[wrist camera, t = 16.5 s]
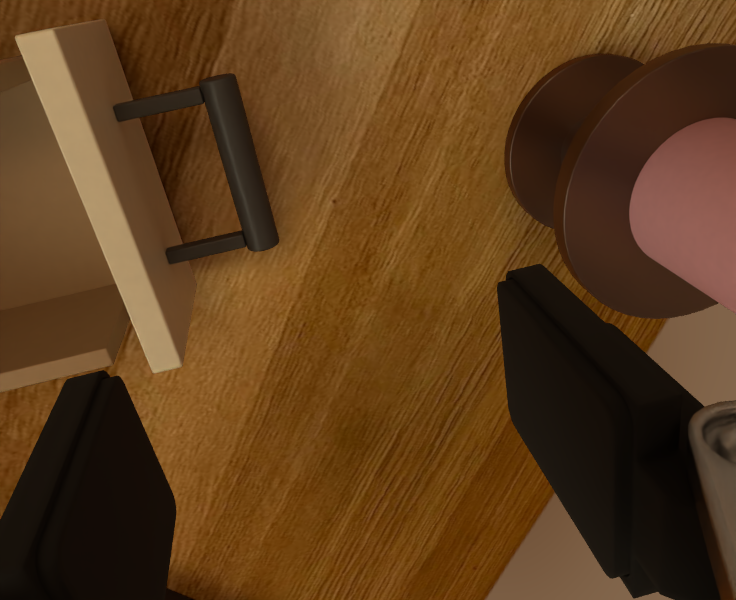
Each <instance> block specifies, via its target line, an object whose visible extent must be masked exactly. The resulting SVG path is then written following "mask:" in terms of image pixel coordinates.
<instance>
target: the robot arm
mask: <svg viewBox="0 0 736 600" xmlns="http://www.w3.org/2000/svg"><path fill="white" fill-rule="evenodd" d="M497 294H498V304H499V315H500V325H501V336H502V346H503V357H504V367H505V378H506V388H507V399H508V408H509V412H510V416H511V419H512V422H513V424H514V426H515V428H516V429H517V431H518V433H519V434H520V436H521V438H522V439H523V441H524V442H525V444H526V446H527V447H528V449H529V451H530V452H531V454H532V455H533V457H534V459H535V460H536V462H537V464H538V465H539V467H540V468H541V470H542V472H543V473H544V475H545V477H546V478H547V480H548V481H549V483H550V485H551V486H552V488H553V489H554V491H555V493H556V494H557V496H558V497H559V499H560V501H561V502H562V504H563V506H564V507H565V509H566V511H567V512H568V514H569V515H570V517H571V519H572V520H573V522H574V523H575V525H576V527H577V528H578V530H579V531H580V533H581V535H582V537H583V538H584V540H585V541H586V543H587V545H588V546H589V548H590V549H591V551H592V553H593V554H594V556H595V558H596V559H597V561H598V562H599V564H600V566H601V567H602V569H603V571H604V572H605V573H606V575H607V576H608V577H609V578H616V577H620V578H621V579H622V581H623V583H624V584H625V586H626V587H627V589H628V590H629V592H630V594H631V595H632V597H633V598H638V597H641V596H644V595H648V594H651V593H655V592H659V593H660V594H661V595H664V596H666V597H669V598H671V599H674V600H736V401H725V402H718V403H715V404H712V405H708V406H706V407H704V406H703V405H702V404H701V403H700V402H699V401H698V400H697V399H696V398H694V397H693V396H692V395H691V394H690V393H689V392H688V391H687V390H686V389H684V388H683V387H682V386H681V385H680V384H679V383H678V382H677V381H676V380H675V379H673V378H672V377H671V376H670V375H669V374H668V373H667V372H665V370H663V369H662V368H661V367H660V366H659V365H658V364H657V363H656V362H655V361H654V360H652V359H651V358H650V357H649V356H648V355H647V354H646V353H645V352H644V351H643V350H641V349H640V348H639V347H638V346H637V345H636V344H635V343H634V342H633V341H631V340H630V339H629V338H628V337H627V336H626V335H625V334H624V333H623V332H622V331H620V330H619V329H618V328H617V327H616V326H614V325H612V324H610V323H605V322H604V321H603V320H602V319H600V318H599V317H598V316H597V315H596V314H595V313H594V312H593V311H592V310H591V309H590V308H589V307H587V306H586V305H585V304H584V303H583V302H582V301H581V300H580V299H579V298H578V297H577V296H576V295H574V294H573V293H572V292H571V291H570V290H569V289H568V288H567V287H566V286H565V285H564V284H563V283H561V282H560V281H559V280H558V279H557V278H556V277H555V276H554V275H553V274H552V273H551V272H550V271H548V270H547V269H546V268H545V267H544V266H543V265H541V264H537V265H533V266H529V267H524V268H520V269H516V270H512V271H508V273H507V275H506V281H502V282H499V283H498V286H497ZM175 520H176V504H175V499H174V496H173V493H172V490H171V488H170V486H169V484H168V481H167V479H166V477H165V475H164V472H163V470H162V468H161V465H160V463H159V461H158V459H157V456H156V454H155V452H154V450H153V447H152V445H151V443H150V441H149V438H148V436H147V434H146V432H145V429H144V427H143V425H142V422H141V420H140V418H139V416H138V413H137V411H136V409H135V407H134V404H133V402H132V400H131V398H130V395H129V393H128V391H127V389H126V386H125V384H124V382H123V380H122V379H121V378H120V377H119V376H114V377H110V376H109V374H108V373H107V372H106V371H103V370H102V371H98V372H94V373H90V374H86V375H82V376H78V377H74V378H70V379H67V380H66V382H65V383H64V385H63V388H62V390H61V392H60V394H59V396H58V398H57V400H56V402H55V405H54V407H53V409H52V411H51V413H50V415H49V417H48V420H47V422H46V424H45V426H44V428H43V430H42V432H41V434H40V437H39V439H38V441H37V443H36V445H35V447H34V449H33V451H32V454H31V456H30V458H29V460H28V462H27V464H26V466H25V469H24V471H23V473H22V475H21V477H20V479H19V481H18V483H17V486H16V488H15V490H14V492H13V494H12V496H11V498H10V500H9V503H8V505H7V507H6V509H5V511H4V513H3V515H2V518H1V520H0V600H165V593H166V586H167V579H168V571H169V564H170V557H171V550H172V542H173V535H174V528H175Z"/></svg>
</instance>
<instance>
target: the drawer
mask: <svg viewBox="0 0 736 600" xmlns="http://www.w3.org/2000/svg"><path fill="white" fill-rule="evenodd" d="M15 40H16V42H17V45H18V47H19V49H20V52H21V54H22V55H21V56H16V57H11V58H6V59H2V60H0V392H4V391H8V390H12V389H16V388H21V387H25V386H29V385H33V384H37V383H41V382H45V381H49V380H53V379H57V378H62V377H66V376H70V375H74V374H78V373H82V372H86V371H90V370H94V369H99V368H103V367H107V366H111V365H113V364H114V361H115V359H116V356H117V353H118V350H119V348H120V345H121V342H122V339H123V337H124V334H125V331H126V328H127V325H128V323H129V320H130V319H131V321H132V324H133V326H134V329H135V331H136V333H137V336H138V338H139V341H140V343H141V346H142V348H143V350H144V353H145V355H146V358H147V360H148V363H149V365H150V367H151V370H152V372H153V373H158V372H162V371H167V370H171V369H175V368H179V367H182V366H183V360H184V355H185V349H186V343H187V338H188V332H189V326H190V320H191V315H192V309H193V303H194V298H195V292H196V286H197V283H196V280H195V278H194V275H193V272H192V269H191V266H190V263H189V260H192V259H197V258H201V257H205V256H210V255H214V254H218V253H222V252H227V251H231V250H235V249H239V248H244V247H246V245H247V248H248V249H249V250H250V251H254V252H257V251H264V250H268V249H270V248H273V247H274V246H276V245H277V244H278V243H279V237H278V233H277V229H276V226H275V222H274V218H273V214H272V211H271V207H270V203H269V199H268V195H267V192H266V188H265V184H264V180H263V177H262V173H261V169H260V165H259V162H258V158H257V154H256V150H255V147H254V143H253V139H252V135H251V132H250V128H249V124H248V120H247V117H246V113H245V109H244V105H243V101H242V98H241V94H240V90H239V86H238V83H237V79H236V76H235V74H232V73H229V74H222V75H217V76H213V77H209V78H206V79H203V80H201V81H200V82H199V85H200V86H197V87H193V88H188V89H183V90H179V91H174V92H169V93H165V94H160V95H155V96H151V97H146V98H141V99H137V100H133V98H132V95H131V92H130V89H129V86H128V83H127V80H126V77H125V74H124V72H123V69H122V66H121V63H120V60H119V57H118V54H117V51H116V48H115V45H114V43H113V40H112V37H111V34H110V31H109V28H108V25H107V22H106V20H105V19H100V20H94V21H89V22H83V23H77V24H72V25H66V26H61V27H55V28H50V29H45V30H40V31H35V32H30V33H25V34H21V35H17V36H15ZM204 102H205V105H206V108H207V112H208V115H209V119H210V122H211V125H212V129H213V132H214V136H215V139H216V143H217V146H218V149H219V153H220V156H221V160H222V163H223V166H224V170H225V173H226V177H227V180H228V183H229V187H230V190H231V194H232V197H233V200H234V204H235V207H236V211H237V214H238V217H239V221H240V224H241V228H242V230H241V231H237V232H233V233H228V234H224V235H220V236H215V237H211V238H207V239H202V240H198V241H194V242H189V243H185V244H183V243H182V240H181V237H180V234H179V231H178V228H177V225H176V222H175V220H174V217H173V214H172V211H171V208H170V205H169V202H168V199H167V196H166V193H165V190H164V188H163V185H162V182H161V179H160V176H159V173H158V170H157V167H156V164H155V161H154V159H153V156H152V153H151V150H150V147H149V144H148V141H147V138H146V135H145V132H144V130H143V127H142V124H141V121H140V117H145V116H149V115H154V114H159V113H163V112H168V111H173V110H177V109H182V108H186V107H191V106H196V105H200V104H203V103H204Z"/></svg>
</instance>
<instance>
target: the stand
mask: <svg viewBox="0 0 736 600" xmlns="http://www.w3.org/2000/svg"><path fill="white" fill-rule="evenodd" d="M711 118H732V119H736V45H735V44H720V43H707V44H700V45H693V46H688V47H685V48H681V49H678V50H674V51H671V52H669V53H666V54H664V55H662V56H660V57H657V58H655V59H653V60H651V61H650V62H648V63H646V64H643V63H641V62H639V61H637V60H635V59H632V58H629V57H625V56H619V55H613V54H592V55H586V56H582V57H579V58H575V59H573V60H571V61H568V62H566V63H564V64H562V65H560V66H559V67H557V68H555V69H554V70H552V71H551V72H550V73H548V74H547V75H546V76H544V77H543V78H542V79H541V80H540V81H539V82H538V83H537V84H536V85H535V86H534V87H533V88H532V89H531V90H530V92H529V93H528V94H527V95H526V97H525V98H524V100H523V101H522V103H521V104H520V106H519V107H518V109H517V111H516V113H515V115H514V117H513V120H512V123H511V125H510V128H509V131H508V135H507V140H506V146H505V170H506V176H507V180H508V184H509V187H510V189H511V191H512V193H513V195H514V197H515V199H516V200H517V202H518V203H519V204H520V206H521V207H522V208H523V209H524V210H525V211H526V212H527V213H528V214H530V215H531V216H532V217H533V218H534V219H536V220H537V221H539V222H540V223H542V224H544V225H545V226H548V227H550V228H553V229H554V231H555V237H556V241H557V245H558V249H559V251H560V254H561V256H562V259H563V261H564V263H565V265H566V266H567V268H568V270H569V271H570V273H571V274H572V276H573V277H574V278H575V279H576V280H577V281H578V283H579V284H580V285H581V286H582V287H583V288H584V289H586V290H587V291H588V292H589V293H590V294H591V295H593V296H594V297H595V298H596V299H597V300H599V301H600V302H601V303H603V304H604V305H606V306H608V307H610V308H611V309H613V310H616V311H618V312H621V313H624V314H626V315H631V316H635V317H640V318H653V319H660V318H672V317H678V316H684V315H688V314H691V313H695V312H698V311H701V310H704V309H706V308H708V307H711V306H713V305H716V304H718V302H717V301H715V300H714V299H712V298H711V297H709V296H708V295H706V294H705V293H703V292H702V291H700V290H699V289H697V288H696V287H694V286H693V285H691V284H690V283H688V282H687V281H685V280H684V279H682V278H680V277H679V276H677V275H676V274H674V273H673V272H671V271H670V270H668V269H667V268H665V267H664V266H662V265H661V264H659V263H658V262H656V261H655V260H653V259H652V258H650V257H649V256H647V255H646V254H645V253H644V252H643V251H642V250H641V248H640V247H639V246H638V244H637V242H636V241H635V239H634V236H633V234H632V231H631V226H630V219H629V208H630V200H631V195H632V191H633V188H634V185H635V182H636V180H637V178H638V176H639V174H640V172H641V170H642V169H643V167H644V165H645V163H646V162H647V161H648V159H649V158H650V157H651V155H652V154H653V153H654V152H655V151H656V150H657V149H658V147H659V146H660V145H661V144H663V143H664V142H665V141H666V140H667V139H668V138H670V137H671V136H672V135H674V134H675V133H676V132H678V131H680V130H681V129H683V128H685V127H687V126H689V125H691V124H694V123H696V122H699V121H702V120H706V119H711Z"/></svg>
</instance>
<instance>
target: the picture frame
mask: <svg viewBox="0 0 736 600" xmlns="http://www.w3.org/2000/svg"><path fill="white" fill-rule="evenodd" d="M165 600H193V599H190V598H188V597H185V596H183V595H181V594H178V593H176V592H173V591H171V590H168V589H166V593H165Z"/></svg>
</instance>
